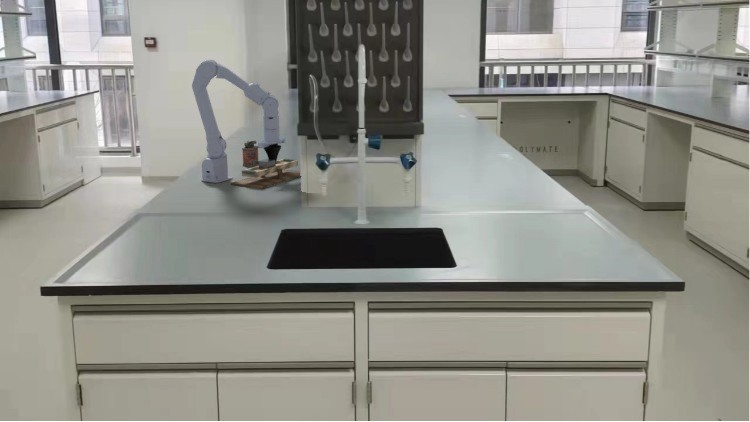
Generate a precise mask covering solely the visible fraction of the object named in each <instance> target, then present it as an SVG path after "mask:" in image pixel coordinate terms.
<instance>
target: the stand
mask: <svg viewBox="0 0 750 422" xmlns="http://www.w3.org/2000/svg"><path fill="white" fill-rule="evenodd" d="M300 171H301V170H293V169H291V170H290V169H284V170H282V168H280V169H277V172H274V173H271V174H268V175H264V176H261V177H258V178H255V177H247V178H243V179H242V178H241V179H239V180H237V181H231V182H230V185H231V186H234V187H235V186H236V187H237V186H238V187H245V188H252V189H259V190H263V189H266V188H269V187H270V188H271V187H273V186H276V185H278V183H279V184H281V182H282V183H285V182H288V180H289V181H292V180H295V179H297V177H298V178H301V177H300ZM294 178H295V179H294ZM291 179H292V180H291ZM284 181H285V182H284Z"/></svg>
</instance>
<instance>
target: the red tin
mask: <svg viewBox="0 0 750 422" xmlns="http://www.w3.org/2000/svg"><path fill="white" fill-rule="evenodd" d="M243 144H244V147H241V151H242V167H252V166H253V167H254V166H258V165H259V148H258V145H255V144H257V140H251V141H250V140H248V141H246V142H244V143H243Z"/></svg>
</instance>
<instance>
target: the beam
mask: <svg viewBox="0 0 750 422" xmlns="http://www.w3.org/2000/svg"><path fill="white" fill-rule="evenodd" d="M298 163H299V162H298V160H297V159H296V158H295V159H294V158H281V159H277V161H276V166H274V167H271V168H267V169H259V165H255V166H253V167H252V166H251V167H250V168H246V169H243V170H241V176H242V177H247V178H249V177H255V178H258V177H261V176H264V175H268V174H271V173H274V172H277V169H280V168H282V170H284V169H285V170H289V169H291V168H294V167H297V166H298Z"/></svg>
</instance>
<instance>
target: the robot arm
mask: <svg viewBox="0 0 750 422" xmlns="http://www.w3.org/2000/svg"><path fill="white" fill-rule="evenodd" d="M214 78H216V79H222V80H225V81H228V82H230V83H231V84H232V85H234V86H235V87H236V88H238V89H241V90H242V91H243V92H244V93H243V94H244V96H245V97H246V98H247V99H249V100H250V101H252V102H253V103H255V104H256V105H258V106H261V107H262V109H263V139H264V140H262V141H260V142H258V143H257V146H258V149H263V150H264V151H265V154H266V155H267V159H273V160H275V163H276V161H278V155H279V153H280V151H281V149H282V145H281V144H286V137H281V136H280V115H279V110H278V109H279V99H277V97H276V96H275V95H274V94H271V92H270V91H268V92H267V91H266V90H265V89H263V88H261V85H260V84H259V83H254V82H252V83H248V82H247V81H246V80H244V79H243V78H242V77H240V76H238V75H237V74H236V73H234V71H232V70H231V69H230V68H228V67H227V66H225V65H223V64H221V63H218V62H217V61H215V60H213V59H206V60H204V61H202V62H200V64H199V65H198V66H197V68H196V69H195V74H194V77H193V79H192V84H191V88H192V92H193V95H194V98H195V101H196V105H197V109H198V111H199V115H200V117H201V118H200V119H201V122H202V125H203V128H204V132H205V139H206V143H207V144H206V145H207V146H206V152H207V155H206V158H205V159H203V161H202V163H201V175H202V177H201V178H202V179H200V181H201V182H206V183H207V182H208V183H215V184H218V183H222V182H226V181H229V180H233V179H234V177H232V176H229V170H228V169H229V168H228V166H229V165H228V154H227V153H226V152H225V151H226V150H227V142H226V140H225V139H224V138H223V137H222V134H221V131H220V129H219V126H218V124H217V121H216V116H215V114H214V109H213V106H212V103H211V100H210V99H211V98H210V96H209V92H208V89H207V87H208V85H210V82H211V81H212V80H213V79H214Z"/></svg>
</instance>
